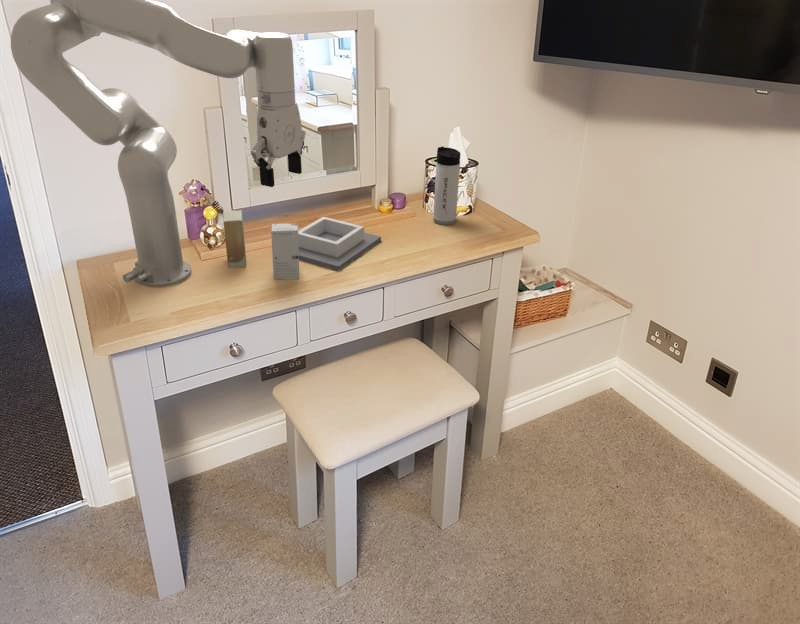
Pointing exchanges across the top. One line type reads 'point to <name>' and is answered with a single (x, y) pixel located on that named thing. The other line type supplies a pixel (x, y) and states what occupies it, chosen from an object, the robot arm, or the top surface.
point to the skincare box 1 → (234, 238)
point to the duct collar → (333, 243)
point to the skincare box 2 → (285, 251)
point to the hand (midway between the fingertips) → (281, 179)
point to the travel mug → (446, 185)
